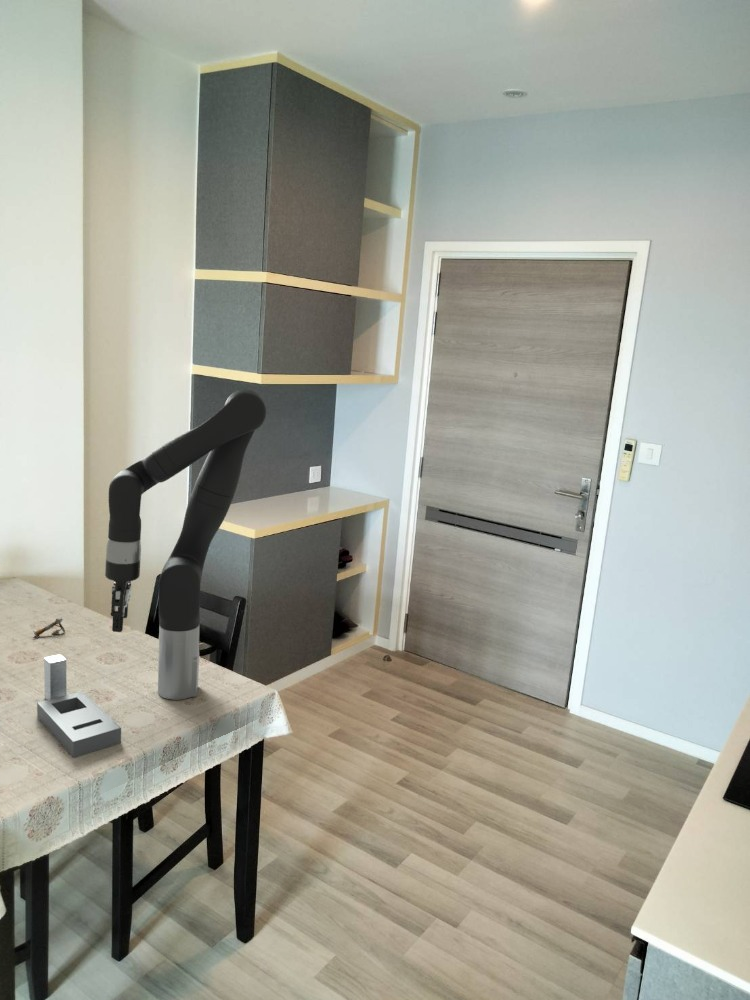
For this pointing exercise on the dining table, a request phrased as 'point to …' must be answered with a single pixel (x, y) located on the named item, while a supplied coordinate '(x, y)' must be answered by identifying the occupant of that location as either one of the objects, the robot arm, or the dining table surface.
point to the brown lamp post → (50, 628)
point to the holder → (78, 723)
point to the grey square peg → (55, 676)
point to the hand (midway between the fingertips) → (119, 624)
